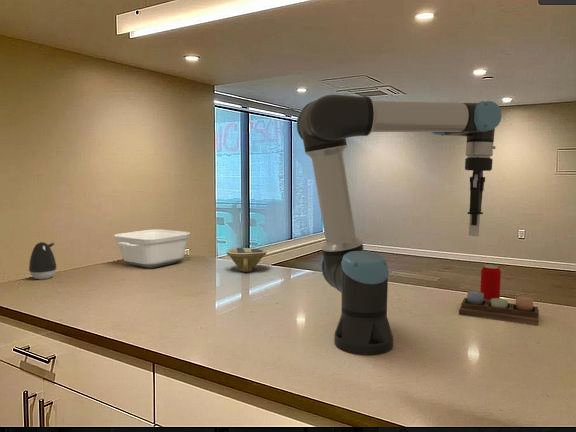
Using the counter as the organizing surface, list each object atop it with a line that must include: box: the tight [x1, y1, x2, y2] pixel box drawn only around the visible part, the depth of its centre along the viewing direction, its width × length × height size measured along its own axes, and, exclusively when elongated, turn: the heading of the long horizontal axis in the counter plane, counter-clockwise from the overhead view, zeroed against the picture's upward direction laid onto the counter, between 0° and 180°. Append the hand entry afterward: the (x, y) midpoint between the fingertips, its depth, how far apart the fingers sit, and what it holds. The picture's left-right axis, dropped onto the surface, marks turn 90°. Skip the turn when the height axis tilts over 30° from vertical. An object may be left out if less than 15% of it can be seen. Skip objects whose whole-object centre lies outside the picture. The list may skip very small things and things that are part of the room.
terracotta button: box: [515, 296, 534, 311], centre depth 142 cm, size 5×5×3 cm
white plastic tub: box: [113, 228, 191, 269], centre depth 223 cm, size 34×29×15 cm
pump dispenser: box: [28, 241, 57, 280], centre depth 194 cm, size 10×10×15 cm
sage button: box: [491, 297, 509, 309], centre depth 145 cm, size 5×5×3 cm
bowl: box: [226, 247, 267, 273], centre depth 209 cm, size 18×18×10 cm
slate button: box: [466, 290, 484, 304], centre depth 148 cm, size 5×5×3 cm
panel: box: [458, 297, 540, 326], centre depth 145 cm, size 12×22×3 cm, turn 62°
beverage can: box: [479, 264, 502, 301], centre depth 161 cm, size 6×6×12 cm
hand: (473, 235), depth 140 cm, fingers closed
